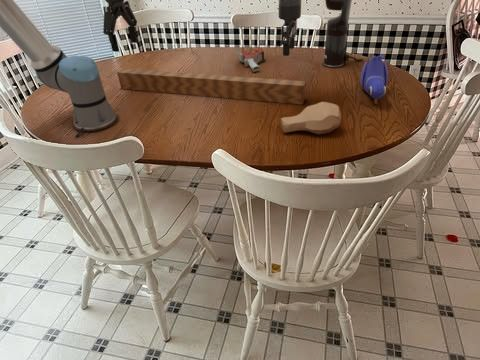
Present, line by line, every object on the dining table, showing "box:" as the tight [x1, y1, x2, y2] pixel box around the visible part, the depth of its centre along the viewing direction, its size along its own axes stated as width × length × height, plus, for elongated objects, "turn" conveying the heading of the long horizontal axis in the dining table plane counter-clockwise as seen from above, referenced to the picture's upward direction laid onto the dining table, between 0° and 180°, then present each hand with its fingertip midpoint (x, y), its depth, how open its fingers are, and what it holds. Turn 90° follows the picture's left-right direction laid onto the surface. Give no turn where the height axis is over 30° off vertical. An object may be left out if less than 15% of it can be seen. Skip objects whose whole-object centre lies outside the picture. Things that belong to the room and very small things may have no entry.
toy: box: [359, 54, 389, 105], centre depth 135 cm, size 10×17×25 cm
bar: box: [116, 68, 307, 105], centre depth 148 cm, size 82×5×8 cm, turn 72°
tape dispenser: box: [237, 48, 265, 73], centre depth 175 cm, size 18×5×20 cm
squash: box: [280, 101, 342, 135], centre depth 117 cm, size 11×20×9 cm, turn 92°
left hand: (125, 46), depth 149 cm, fingers open, 13 cm apart
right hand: (288, 51), depth 129 cm, fingers open, 8 cm apart
